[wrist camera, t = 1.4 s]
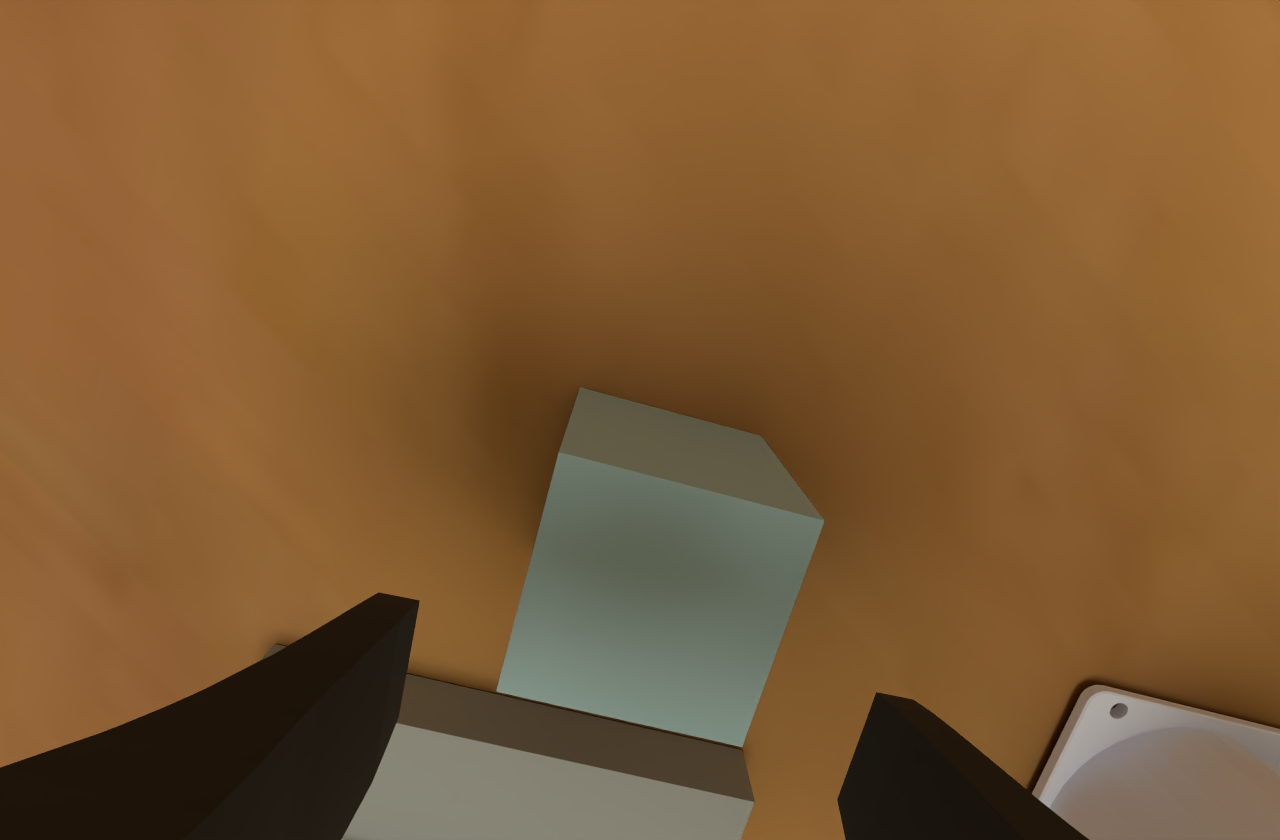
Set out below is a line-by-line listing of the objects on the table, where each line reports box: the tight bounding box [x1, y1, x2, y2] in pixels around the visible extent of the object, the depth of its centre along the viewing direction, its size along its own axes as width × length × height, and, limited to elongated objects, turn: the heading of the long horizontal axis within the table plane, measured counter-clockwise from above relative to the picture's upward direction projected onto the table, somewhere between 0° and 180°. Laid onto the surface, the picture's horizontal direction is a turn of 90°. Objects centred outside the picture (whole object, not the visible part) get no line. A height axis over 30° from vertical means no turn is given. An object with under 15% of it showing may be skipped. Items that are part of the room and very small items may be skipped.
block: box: [496, 387, 825, 747], centre depth 16 cm, size 5×5×6 cm
